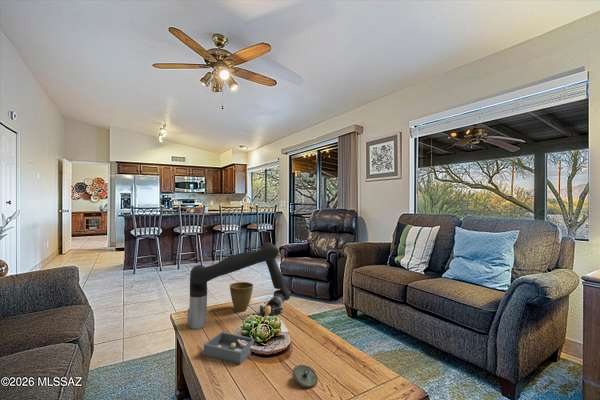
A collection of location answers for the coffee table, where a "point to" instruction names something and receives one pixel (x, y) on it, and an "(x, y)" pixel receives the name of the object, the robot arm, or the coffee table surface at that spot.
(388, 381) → the coffee table surface
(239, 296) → the plant pot
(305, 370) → the lid
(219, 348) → the parts tub
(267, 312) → the tub lid
